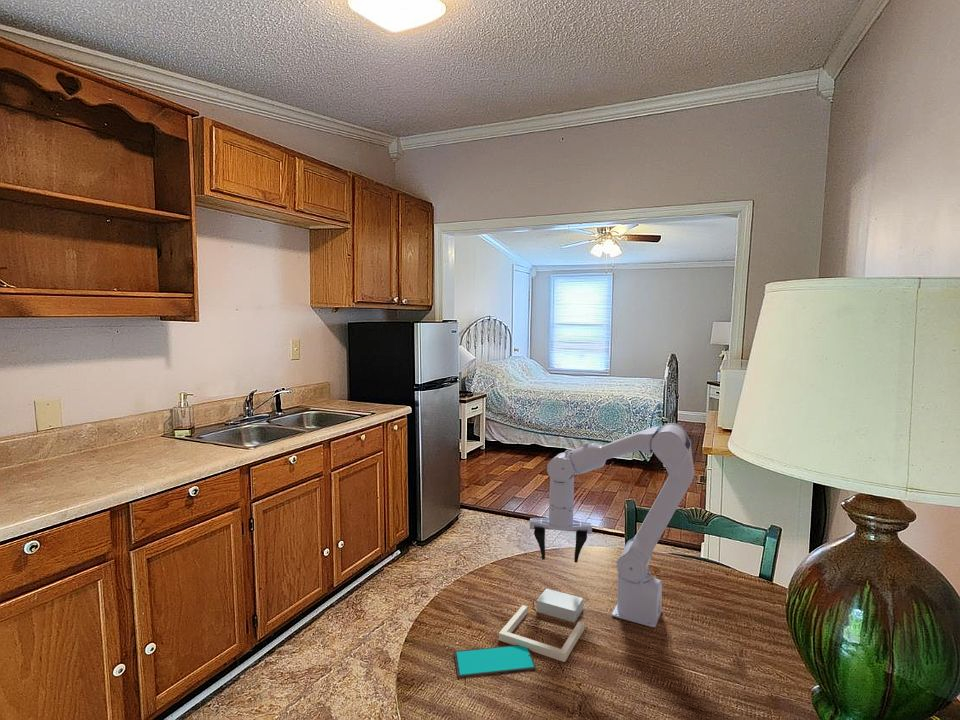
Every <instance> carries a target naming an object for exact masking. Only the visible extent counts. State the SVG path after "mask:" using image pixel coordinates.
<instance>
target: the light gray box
mask: <svg viewBox="0 0 960 720" xmlns="http://www.w3.org/2000/svg"><path fill="white" fill-rule="evenodd" d="M583 610H584V598H583V597H580V596H577V595H572V594H569V593H566V592H562V591H559V590H558V591H557V590H553V589H550V588H546V589H544V591H543V592H542V593H541V594H540V596H539V597H538V598H537V599H536V613H540V614H544V615H547V616H551V617H554V618H557V619H561V620H564V621H568V622H570V623H573V624H574V623H576V621H577V619H578V618H579V616H580V615H581V613H582V612H583Z"/></svg>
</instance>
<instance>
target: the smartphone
mask: <svg viewBox="0 0 960 720" xmlns="http://www.w3.org/2000/svg"><path fill="white" fill-rule="evenodd" d="M453 657H454V662H455V664H454V665H455V669H456V675H457V678H458V679H463V678H470V677H471V678H473V677H481V676H491V675H503V674H511V673H512V674H513V673H522V672H523V673H524V672H527V671H529V672H530V671H535V670H536V665H535V662H534V659H533V656H532V654H531V651H530V650H529V648H527V647H524V646H520V645H507V646H506V645H504V646H503V645H502V646H495V647H493V646H492V647H483V648H474V649H463V650H456V651H453Z"/></svg>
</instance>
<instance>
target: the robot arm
mask: <svg viewBox="0 0 960 720" xmlns="http://www.w3.org/2000/svg"><path fill="white" fill-rule="evenodd" d="M638 451H640V452H642V453H644V454H646V455H649V456H651V455H652V453H653V454H654V455H655V457H657V459H658V460H659V461H660V462H661V463H662V464H663V465H664V469H666V470H665V471H666V472H667V474H668V476H667V478H666V480H665V482H664V484H663V485H662V487H661V489H660V491H659V493H658V495H657V497H656V498H655V500H654V502H653V504H652V506H651V508H650V509H649V511H648V512H647V514H646V515H645V518H644V520H643V522H642V524H641V525H640V527H639V529H638V531H637V532H636V534H635V536H634V537H632V538H631V539H629V540H627V542H626V543H625V545H624V548H623V550H622V552H621V555H620V556H619V557H618V559H617V561H616V570H617V597H616V598H617V603H616V605H615V607H614V609H613V611H612V612H611V616H612V617H614V618H618V619H622V620H625V621H629V622H632V623H636V624H640V625H643V626H646V627H651V628H657V625H658V622H659V619H660V616H661V614H662V611H663V608H662V605H663V604H662V601H663V599H662V598H663V597H662V596H663V583H662V580H661V579H658V578H656V577H654V576H653V575H652V572H651V570H650V567H649V564H650V562H651V560H652V559H653V551H654V549H655V548H656V545H657V543H658V542H659V541H660V539H661V537H662V535H663V533H664V531H665V530H666V529H667V526H669V525H668V524H669V523H670V521H671V519H672V517H673V516H674V514H675V513H676V510H677V508H678V507H679V505H680V504H681V502H682V500H683V498H684V497H685V495H686V494H687V491H688V489H689V487H690V486H691V484H692V482H693V481H694V477H695V466H694V459H693V451H692V441H691V439H690V438H689V436H688V434H687V432H686V430H685V429H684V428H683V427H682V426H681V425H679V424H678V423H674V422H670V423H666V424H663V425H662V426H661V427H660V425H657V426H653V427H649V428H646V429H643V430H640V431H637V432H634V433H632V434H629V435H626V436H624V437H622V438H619V439H616V440H614V441H611V442H609V443H606V444H604V445H601V444H599V443H598V442H592V443H590V442H589V441H586V442H584V443H583V444H582V446H581V447H577V448H575V449H571V450H570V449H569V448H568V449H566V450H565V451H564V452H560V453H558V454H556V456H554V457H553V458H552V459H550V460H549V462H548V463H547V466H546V470H547V474H548V476H549V492H548V494H549V498H548V504H549V505H548V517H540V518H539V517H538V518H535V517H534V518H533V517H532V518H530V519H529V530H533V531H534V532H533V534H534V537H535V539H536V542H537V544H538V547H539V551H540V554H541V560H545V559H546V530H552V531H564V532H575V548H574V557H573V558H574V561H573V562H574V563H575V564H576V563H578V562H579V556H580V553H581V551H582V548H583V546H584V545H585V543H586V541H587V539H588V535H593V524H592V523H593V522H586V521H582V520H577V519H574V506H575V505H574V502H575V501H574V499H575V485H574V484H575V476H579V475H581V474H586V473H588V472H591V471H595V470H598V469H601V468H603V467H604V466H605V464H606V462H607V460H610V459H614V458H616V457H617V458H618V457H620V456H624V455H628V454H631V453H635V452H638Z"/></svg>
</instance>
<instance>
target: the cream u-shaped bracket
mask: <svg viewBox="0 0 960 720" xmlns="http://www.w3.org/2000/svg"><path fill="white" fill-rule="evenodd" d="M528 609H529V608H528V605H525V604H522V605H521V606H520V608H519V609H518V610H517V611H516V612H515V613H514V615H513V616H512V617H511V618H510V619H509V620H508V622H507V623H506V624H505V625H504V626H503V628H502V629H501V630H500V631H499V632H498V641H500V642H503V643H506V644H508V645H511V646H513V645H520V646H524V647H527V648H529V650H530V652H533V653H536V654H539V655H541V656H545V657H547V658H548V657H549V658H551V659H554V660H557V661H560V662H563V663H565V662H566V661H567V660H568V658H569V655H570V654H571V652H572V650H573V649H574V647H575V646H576V644H577V643H578V641H579V639H580V638H581V636H582V634H583V633H584V631H585V622H583V621H579V620H578V622H577V623H576V625H575V627H574V628H573V630H572V631H571V633H569V634H570V635H569V636H568V638H567V639H566V641H565V642H564V644H563V645H562V647H561V648H560V647H556V646H553V645H550V644H546V643H543V642H540V641H537V640H534V639H531V638H528V637H525V636H522V635H519V634H517V633H513V631H514V630H515V629H516V628H517V627H518V625H520V623H521V622H522V621H523V620H524V618H525V617H527V615H528V612H529V611H528Z"/></svg>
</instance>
